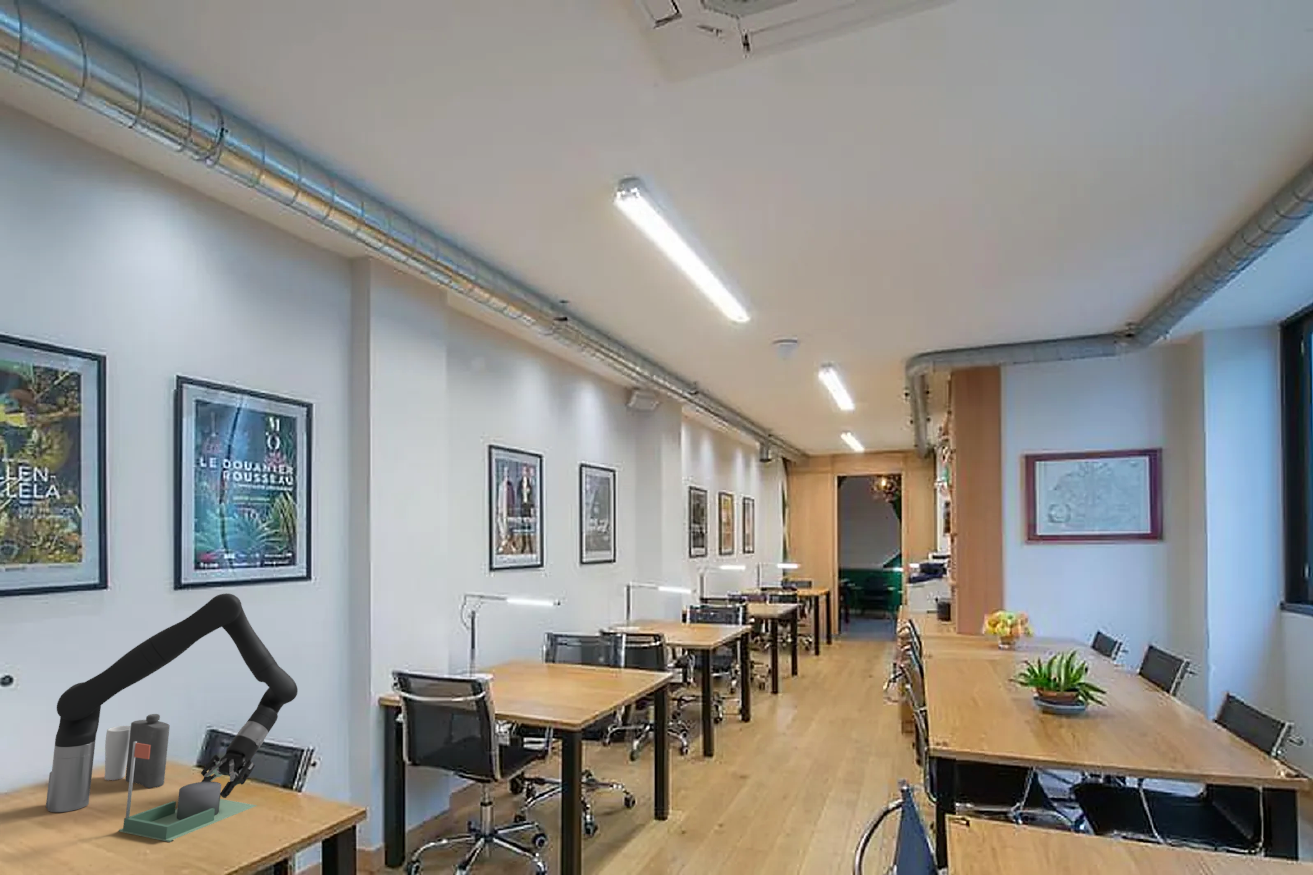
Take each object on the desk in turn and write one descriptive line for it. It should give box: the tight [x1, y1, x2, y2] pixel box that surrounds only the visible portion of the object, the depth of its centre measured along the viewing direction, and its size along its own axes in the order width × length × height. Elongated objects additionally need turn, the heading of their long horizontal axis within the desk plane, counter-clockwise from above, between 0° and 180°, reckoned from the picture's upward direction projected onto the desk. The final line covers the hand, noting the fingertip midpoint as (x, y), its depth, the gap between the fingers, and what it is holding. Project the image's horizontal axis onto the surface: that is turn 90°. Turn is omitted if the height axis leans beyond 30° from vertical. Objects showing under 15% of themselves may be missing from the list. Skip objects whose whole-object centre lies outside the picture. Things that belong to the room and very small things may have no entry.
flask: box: [124, 713, 170, 789], centre depth 238 cm, size 15×6×20 cm, turn 63°
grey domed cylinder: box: [176, 781, 222, 820], centre depth 212 cm, size 10×10×7 cm
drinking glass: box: [103, 725, 131, 781], centre depth 241 cm, size 7×7×15 cm
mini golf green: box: [118, 741, 258, 843], centre depth 211 cm, size 18×27×22 cm, turn 161°
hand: (210, 794), depth 215 cm, fingers open, 8 cm apart
